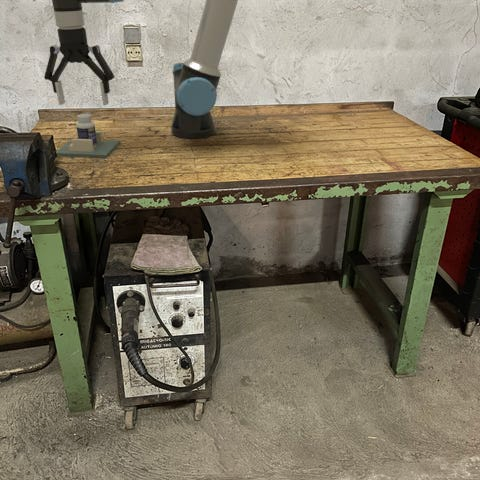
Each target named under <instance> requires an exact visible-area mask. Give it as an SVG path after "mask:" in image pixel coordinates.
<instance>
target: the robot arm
mask: <svg viewBox="0 0 480 480" xmlns="http://www.w3.org/2000/svg"><path fill="white" fill-rule="evenodd" d="M124 1H125V0H51V2H52V7H53V14H54V19H55V24H56V26H57V28H58V29H57V36H58V41H59V46H57V45H56V44H54V45H51V46H49V58H48V61H47V65H46V70H45V73H44V79H45V80H46V81H47V80H48V81H51V85H52V90H53V93H55V94H56V97H57V101H58V105H59V106H62V105H63V104H65V103H66V100H65V95H64V89H63V84H62V80H60V77H61V75H62V74H63V71H64V70H65V69H66V67H67V65H68V64H69V63H70V64H73V63H77V64H81V63H84V65H86V66H87V67H88V68H89V70H91V71H92V72H93V73H94V74H95V75H96V76H97V78H99V80H100V81H101V82H99V87H100V93H101V99H102V100H101V101H102V105H103V106H107V105H108V104H109V95H108V94H110V92H111V89H110V88H111V87H110V81H112V80H113V79H115V75H114V73H113V71H112V70H111V68H110V66H109V64H108V63H107V61H106V59H105V58H104V56H103V55H102V52H101V49H100V46H99V45H98V44H97V45H93V46H89V44H88V38H87V37H88V36H87V31H86V30H87V29H86V28H85V27H84V26H85V18H84V12H83V6H82V4H96V3H97V4H101V3H102V4H103V3H104V4H107V3H111V4H116V3H122V2H124ZM238 2H239V0H205V4H204V6H203V11H202V15H201V17H200V22H199V26H198V29H197V33H196V36H195V40H194V44H193V48H192V50H191V51H192V52H191V55H190V57H189V58H188V59H187V60H185V61H183V62H177V63H174V64H173V66H172V69H173V71H172V74H173V90H174V91H173V92H174V108H175V109H174V110H175V111H174V114H173V118H172V120H171V121H172V122H171V127H170V129H171V131H170V132H171V134H172V135H173V136H175V137H177V138H183V139H203V138H209V137H210V136H213V135H214V134H216V124H215V121H214V119H213V116H212V112H211V110H213V108H214V106H215V105H216V103H217V102H216V101H217V97H218V95H217V94H218V93H217V89H218V87H219V83H220V80H221V79H220V78H221V76H222V74H221V72H220V70H219V65H220V62H221V58H222V56H223V52H224V48H225V45H226V42H227V39H228V35H229V32H230V28H231V25H232V22H233V20H234V19H233V17H234V16H235V12H236V8H237V4H238ZM60 53H61V54H62V55H63V57H62V58H61V60H60V62H59V64H58V66H57V68H56V69H55V67H56V63H57V58H58V55H59V54H60ZM90 53H91V54H92V55H93V56H94V58H95V60H96V61H97V63H98V65H99V66H98V65H97V64H96V62H94V60H93V59H92V57H91V56H90Z"/></svg>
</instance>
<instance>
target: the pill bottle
mask: <svg viewBox="0 0 480 480" xmlns="http://www.w3.org/2000/svg"><path fill="white" fill-rule="evenodd" d="M76 117H77V121H78V122H76V125H75V126H76V132H77V139H92V141H93V148H94V147H96V146H97V140H96V132H95V131H96V127H95V122H94V121H92V115H91V114H90V113H80V114H78V115H77V116H76Z"/></svg>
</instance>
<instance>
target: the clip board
mask: <svg viewBox="0 0 480 480" xmlns="http://www.w3.org/2000/svg"><path fill="white" fill-rule="evenodd" d="M95 132H96V140H97V146H96V147H94V148H93V141H92V139H78V138H76V137H75V138H74V137H73V138H71V139H69V141H68V142H66V143H65V144H64V145H62V146H61V147H60V148H59V149H57V150H56V151H55V152H56V153H57V156H56V157H65V158H66V157H69V158H70V157H71V158H91V159H93V158H94V159H107V158H108V157H109V156H111V154H113V152H114V151H115V150H116V149H117V148H118V147H119V146H120V145H121V144H122V142H121V140H120V139H119V140H118V139H116V140H115V139H104V138H103V131H101V130H99V131H98V130H95Z"/></svg>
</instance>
